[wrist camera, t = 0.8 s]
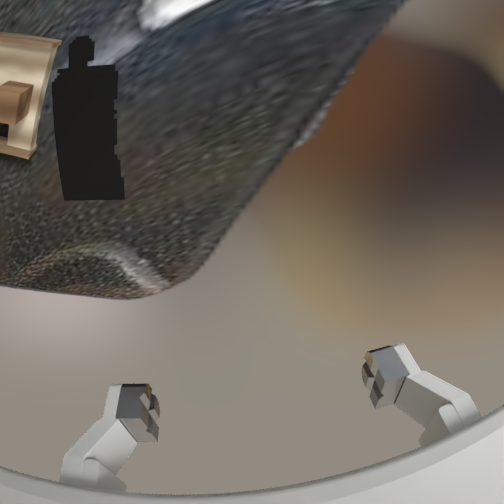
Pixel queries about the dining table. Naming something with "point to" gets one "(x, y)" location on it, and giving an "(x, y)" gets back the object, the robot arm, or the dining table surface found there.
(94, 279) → the dining table surface
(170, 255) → the dining table surface
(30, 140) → the box
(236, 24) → the dining table surface
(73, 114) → the black flat board
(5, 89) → the block
